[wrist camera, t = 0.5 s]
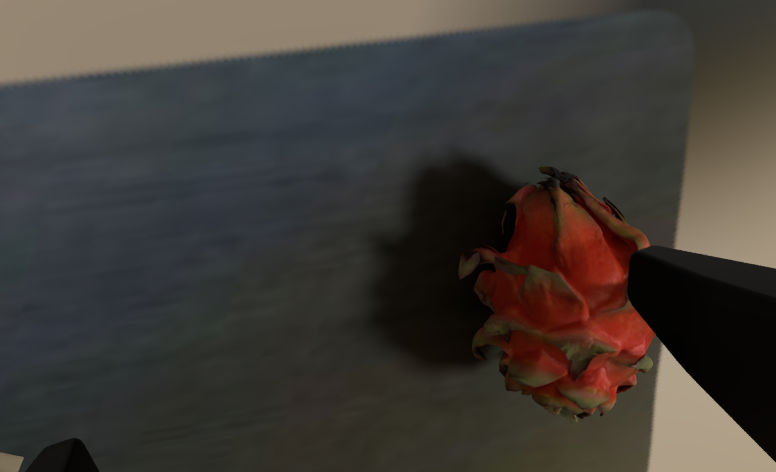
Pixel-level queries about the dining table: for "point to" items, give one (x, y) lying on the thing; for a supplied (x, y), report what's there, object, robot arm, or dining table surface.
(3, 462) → the birch block
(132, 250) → the dining table surface
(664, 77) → the dining table surface
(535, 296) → the dragon fruit
